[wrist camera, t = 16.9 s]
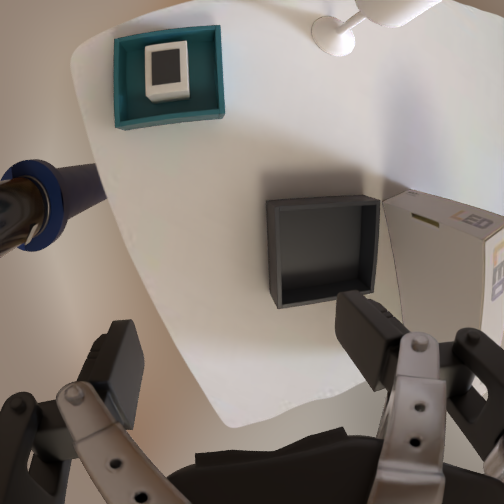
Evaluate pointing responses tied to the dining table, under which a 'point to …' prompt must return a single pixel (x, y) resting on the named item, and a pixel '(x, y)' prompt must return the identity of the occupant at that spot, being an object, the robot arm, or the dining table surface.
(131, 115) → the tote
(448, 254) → the packaging
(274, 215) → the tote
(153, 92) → the white box with panel
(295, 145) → the dining table surface
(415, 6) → the champagne flute
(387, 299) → the dining table surface
